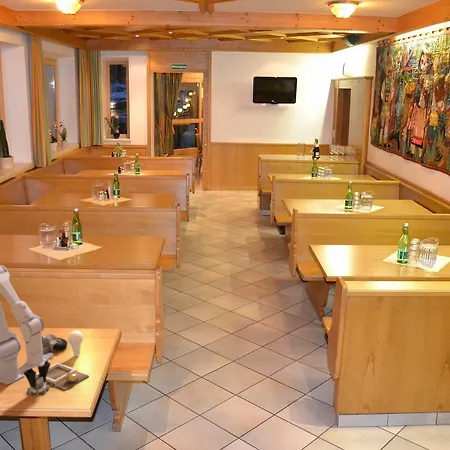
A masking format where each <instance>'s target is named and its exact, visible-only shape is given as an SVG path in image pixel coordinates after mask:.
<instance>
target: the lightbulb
mask: <svg viewBox="0 0 450 450" xmlns="http://www.w3.org/2000/svg"><path fill="white" fill-rule="evenodd" d="M83 340H84V335H83V333H82V332H81V331H79V330H72V331H71V332H69V334H68V336H67V342H68V343H69V344H70V346H71V348H72V352H73V355H74V356H76V357H78V356H79V355H80V354H81V345H82V343H83Z"/></svg>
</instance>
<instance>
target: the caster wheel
mask: <svg viewBox="0 0 450 450" xmlns="http://www.w3.org/2000/svg"><path fill="white" fill-rule="evenodd" d="M41 338H42V348H43V355H46V354H48V353H49V351H56V352H62V351H65V350H66V349H67V347H68V340H66V339H64V338H63V337H57V336H55V335H54V334H52V333H48V334H45V335H41Z"/></svg>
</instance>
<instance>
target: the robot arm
mask: <svg viewBox="0 0 450 450" xmlns="http://www.w3.org/2000/svg"><path fill="white" fill-rule="evenodd" d="M10 277H11V275H10V273H9V270H8V269H7V267H5V266H4V265H1V264H0V294H1V296H2V297H3V298H4V299H5V300H6V301H7V303H8V304H9V305H10V306H11V307H10V312H11V313H12V315H13V317H14V318H15V319H16V321H17V322H18V324H19V325H20V327H19V330H20V333H21V335H22V339H23V341H24V343H25V353H26V361H25V363H23V364H22V365H21V366H20V367H19V363H18V356H19V352H21V349H22V343H21V341H20V340H19V338H18V335H17V333H15V332H14V331H11V330H9V325H8V322H7V319H6V315H5V311H4V309H3V305H2V302H1V301H0V383H1V384H3V385H7V386H8V385H10V384H12V383H14V382H15V381H18V380H20V379H22V378H24V377H26V378H25V379H27V382H28V384H29V387H33V388H35V386H36V383H35V376H36V374H37V371H34V368H37V369H38V373H39V374H41V375H43V382H45V381H46V376H47V372H48V369H49V367H50V366H51V362H49V360H51V361H52V360H54V353H51V352H48V354H44V353H43V348H42V338H41V337H42V332H43V331H44V330H45V323H44V322H43V320H42V318H41V317H40V316H38V315H36V313H33V311H32V310H31V309H30V307H29V306H28V304H27V303H26V302H25V301H23V300H20V298H19V296H18V295H17V293H16V291H15V288H14V287H13V285H12V284H11V282H10Z"/></svg>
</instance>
